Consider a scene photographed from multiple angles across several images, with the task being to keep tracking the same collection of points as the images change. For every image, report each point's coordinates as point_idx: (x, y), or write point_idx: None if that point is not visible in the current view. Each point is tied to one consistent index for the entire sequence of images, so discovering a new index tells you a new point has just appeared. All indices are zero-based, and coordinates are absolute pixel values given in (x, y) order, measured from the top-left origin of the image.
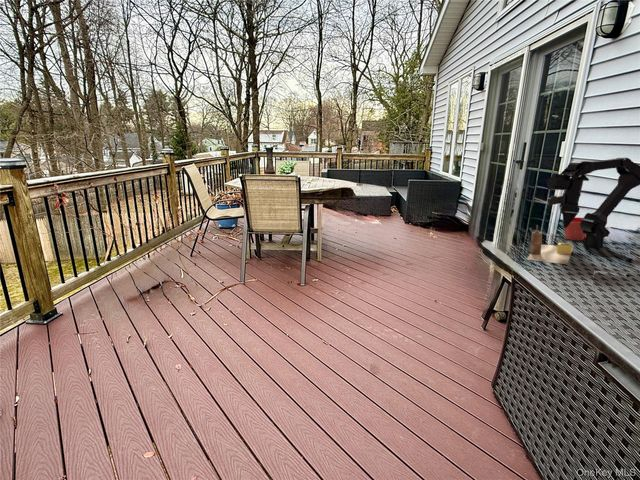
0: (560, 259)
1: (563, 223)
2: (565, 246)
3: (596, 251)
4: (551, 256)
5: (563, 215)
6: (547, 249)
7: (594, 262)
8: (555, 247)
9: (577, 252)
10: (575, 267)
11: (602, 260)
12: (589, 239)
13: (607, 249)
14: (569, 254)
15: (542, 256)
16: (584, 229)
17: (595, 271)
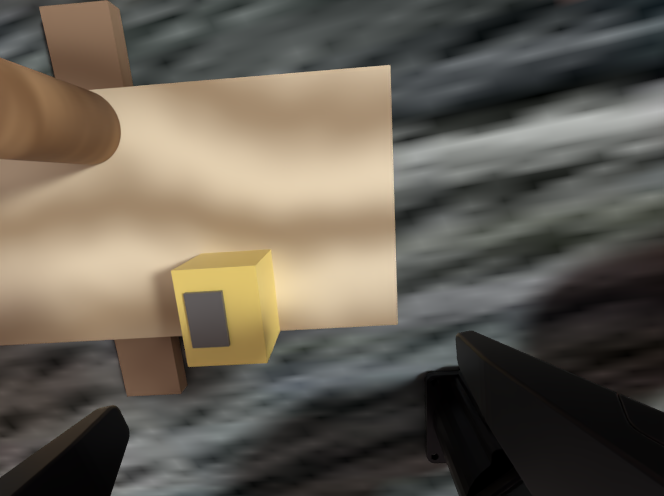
0: (43, 301)
1: (464, 348)
2: (184, 323)
3: (401, 430)
4: (79, 241)
5: (605, 456)
6: (250, 180)
7: (158, 440)
8: (339, 220)
9: (328, 347)
10: (5, 376)
11: (219, 467)
12: (464, 446)
13: None
14: None
15: (40, 189)
16: (511, 491)
17: (2, 456)
